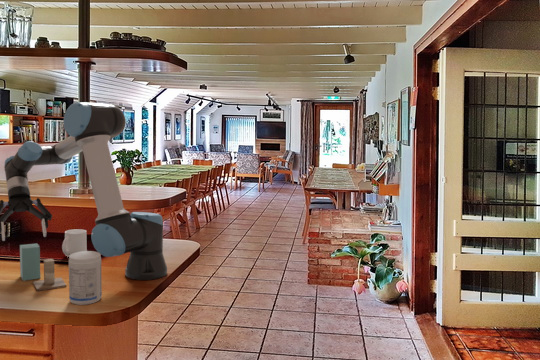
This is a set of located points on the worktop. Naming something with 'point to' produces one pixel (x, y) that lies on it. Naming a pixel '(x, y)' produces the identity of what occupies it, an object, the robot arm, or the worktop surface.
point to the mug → (74, 241)
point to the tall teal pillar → (30, 261)
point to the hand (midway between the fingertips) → (24, 236)
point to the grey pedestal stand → (49, 278)
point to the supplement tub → (85, 277)
